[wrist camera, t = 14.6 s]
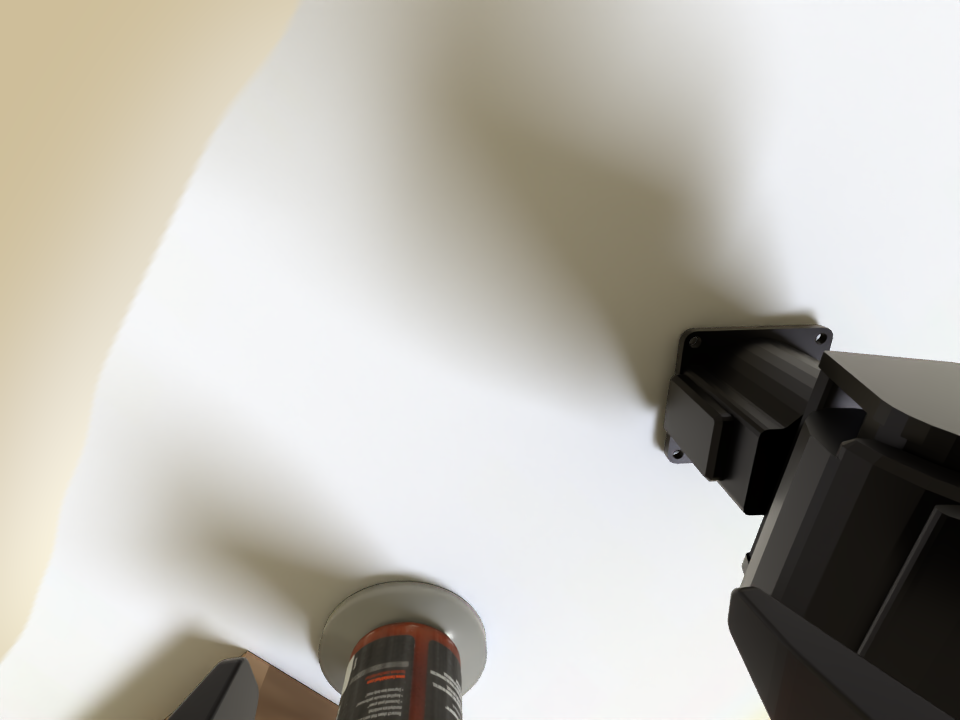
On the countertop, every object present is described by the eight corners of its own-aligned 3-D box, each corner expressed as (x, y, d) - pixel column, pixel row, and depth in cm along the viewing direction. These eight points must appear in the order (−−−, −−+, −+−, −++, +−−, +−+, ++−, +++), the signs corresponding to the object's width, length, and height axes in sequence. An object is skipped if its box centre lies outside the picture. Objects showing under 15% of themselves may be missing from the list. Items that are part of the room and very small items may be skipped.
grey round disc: (485, 577, 25) (486, 589, 24) (486, 694, 28) (487, 708, 28) (311, 585, 25) (307, 598, 24) (333, 703, 28) (329, 718, 27)
